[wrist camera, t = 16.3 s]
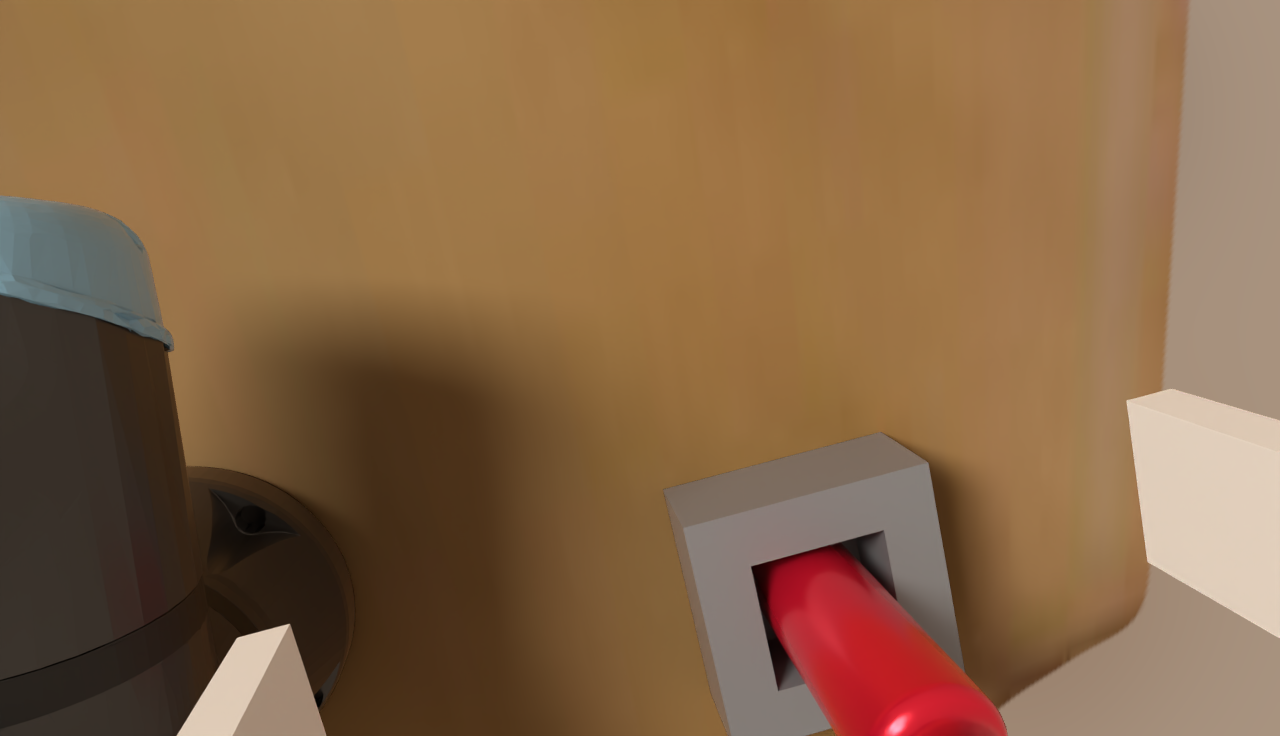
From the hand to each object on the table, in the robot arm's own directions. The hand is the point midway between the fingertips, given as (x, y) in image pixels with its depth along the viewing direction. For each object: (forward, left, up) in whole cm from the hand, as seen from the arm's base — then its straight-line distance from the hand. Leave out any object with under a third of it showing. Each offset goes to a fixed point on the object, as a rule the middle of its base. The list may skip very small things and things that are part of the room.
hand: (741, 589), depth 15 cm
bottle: (+8, -16, -34) cm, 38 cm away
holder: (+8, -16, -35) cm, 39 cm away
